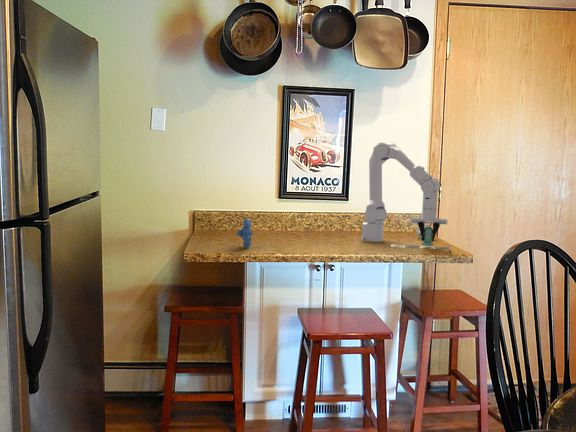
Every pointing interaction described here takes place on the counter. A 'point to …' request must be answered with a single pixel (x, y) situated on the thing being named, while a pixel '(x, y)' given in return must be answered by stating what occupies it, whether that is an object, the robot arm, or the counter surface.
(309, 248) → the counter surface
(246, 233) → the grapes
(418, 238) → the grey spiky ball
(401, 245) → the board
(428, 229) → the pawn
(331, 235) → the counter surface
